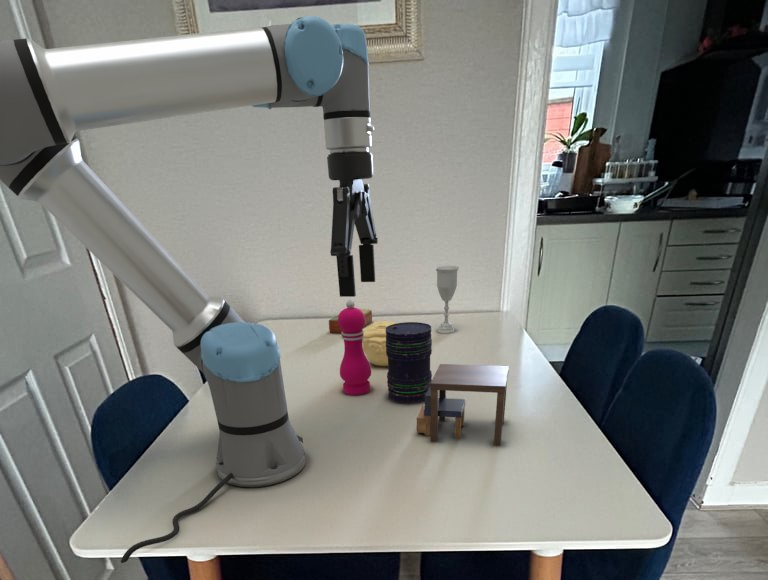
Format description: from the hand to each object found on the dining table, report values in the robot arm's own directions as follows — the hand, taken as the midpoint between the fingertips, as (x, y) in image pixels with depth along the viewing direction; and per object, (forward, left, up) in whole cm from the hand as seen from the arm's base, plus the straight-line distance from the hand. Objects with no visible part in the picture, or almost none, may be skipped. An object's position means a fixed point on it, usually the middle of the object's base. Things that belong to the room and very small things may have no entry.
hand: (358, 288), depth 100 cm
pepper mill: (+13, +6, -25) cm, 29 cm away
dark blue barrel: (+11, -7, -25) cm, 28 cm away
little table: (-6, -22, -25) cm, 34 cm away
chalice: (+67, -7, -25) cm, 72 cm away
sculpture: (+34, +4, -25) cm, 42 cm away
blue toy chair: (-6, -17, -25) cm, 31 cm away
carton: (+69, +24, -25) cm, 77 cm away
